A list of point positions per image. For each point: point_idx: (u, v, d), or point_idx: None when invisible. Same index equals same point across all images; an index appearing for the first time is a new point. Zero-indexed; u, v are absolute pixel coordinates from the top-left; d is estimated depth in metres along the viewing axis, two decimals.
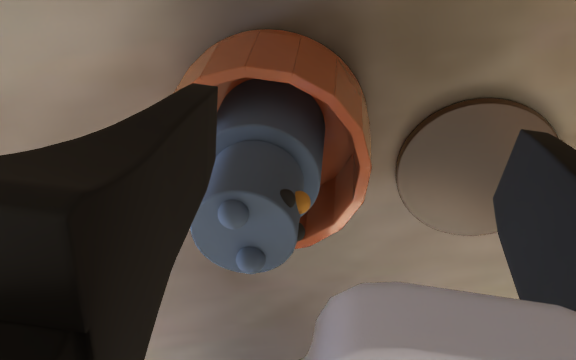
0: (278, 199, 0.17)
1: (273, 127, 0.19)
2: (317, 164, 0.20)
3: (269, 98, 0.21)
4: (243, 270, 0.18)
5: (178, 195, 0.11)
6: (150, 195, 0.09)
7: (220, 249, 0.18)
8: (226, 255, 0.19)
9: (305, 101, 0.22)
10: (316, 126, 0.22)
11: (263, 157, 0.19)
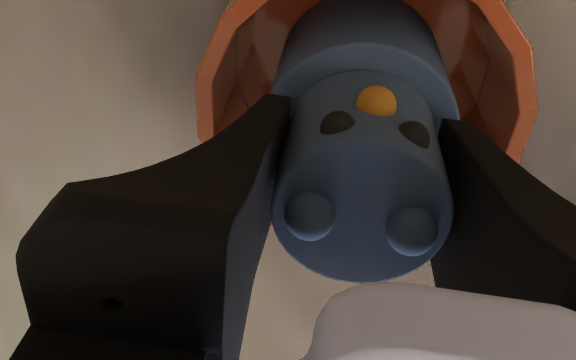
0: (320, 140, 0.10)
1: (280, 80, 0.13)
2: (370, 41, 0.12)
3: (281, 59, 0.15)
4: (414, 253, 0.10)
5: (264, 207, 0.11)
6: (254, 210, 0.09)
7: (376, 259, 0.11)
8: (391, 256, 0.11)
9: (321, 10, 0.15)
10: (351, 11, 0.14)
11: (295, 119, 0.12)
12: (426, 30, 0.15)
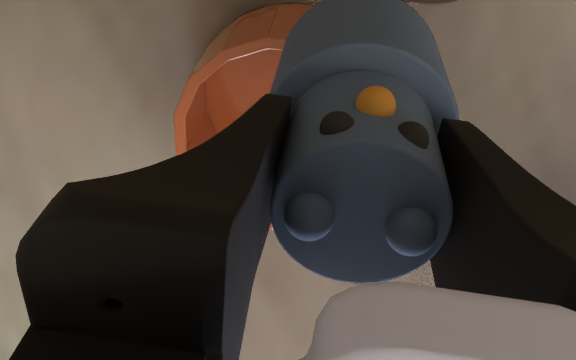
0: (319, 140, 0.10)
1: (280, 81, 0.13)
2: (369, 41, 0.12)
3: (281, 60, 0.15)
4: (413, 254, 0.10)
5: (264, 207, 0.11)
6: (254, 210, 0.09)
7: (375, 259, 0.11)
8: (391, 256, 0.11)
9: (321, 10, 0.15)
10: (350, 11, 0.14)
11: (294, 119, 0.12)
12: (426, 30, 0.15)
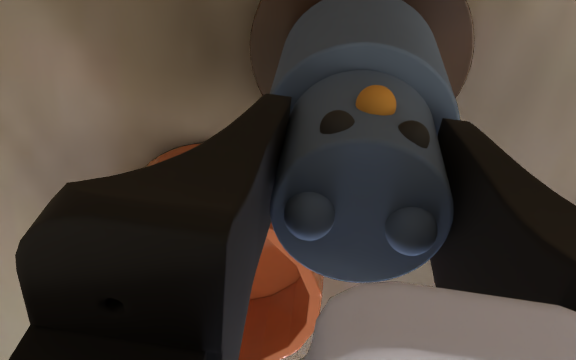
0: (319, 139, 0.10)
1: (280, 80, 0.13)
2: (369, 40, 0.12)
3: (281, 59, 0.15)
4: (414, 253, 0.10)
5: (264, 207, 0.11)
6: (254, 210, 0.09)
7: (376, 258, 0.11)
8: (391, 256, 0.11)
9: (321, 9, 0.15)
10: (350, 10, 0.14)
11: (294, 119, 0.12)
12: (426, 30, 0.15)
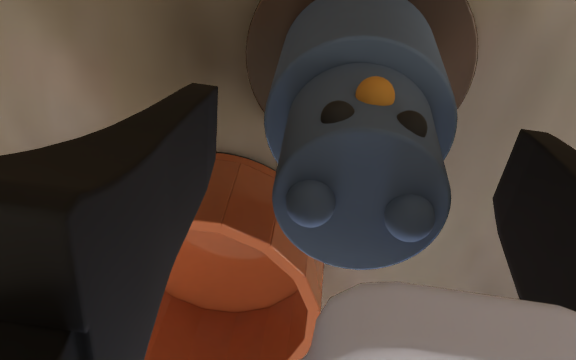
0: (320, 128, 0.10)
1: (281, 73, 0.13)
2: (369, 34, 0.12)
3: (282, 53, 0.15)
4: (412, 239, 0.11)
5: (178, 195, 0.11)
6: (150, 195, 0.09)
7: (375, 245, 0.12)
8: (390, 243, 0.11)
9: (321, 4, 0.15)
10: (350, 5, 0.14)
11: (295, 110, 0.12)
12: (424, 24, 0.15)
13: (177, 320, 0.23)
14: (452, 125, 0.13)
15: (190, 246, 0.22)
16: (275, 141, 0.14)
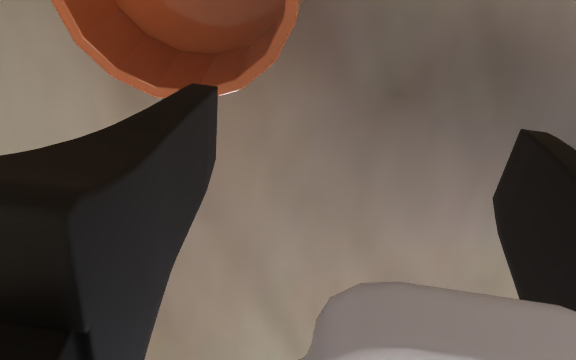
0: None
1: None
2: None
3: None
4: None
5: (178, 195, 0.11)
6: (150, 195, 0.09)
7: None
8: None
9: None
10: None
11: None
12: None
13: (151, 51, 0.22)
14: None
15: None
16: None
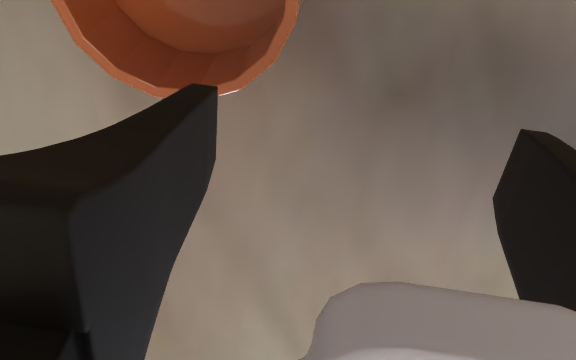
0: None
1: None
2: None
3: None
4: None
5: (178, 195, 0.11)
6: (150, 195, 0.09)
7: None
8: None
9: None
10: None
11: None
12: None
13: (151, 51, 0.22)
14: None
15: None
16: None
